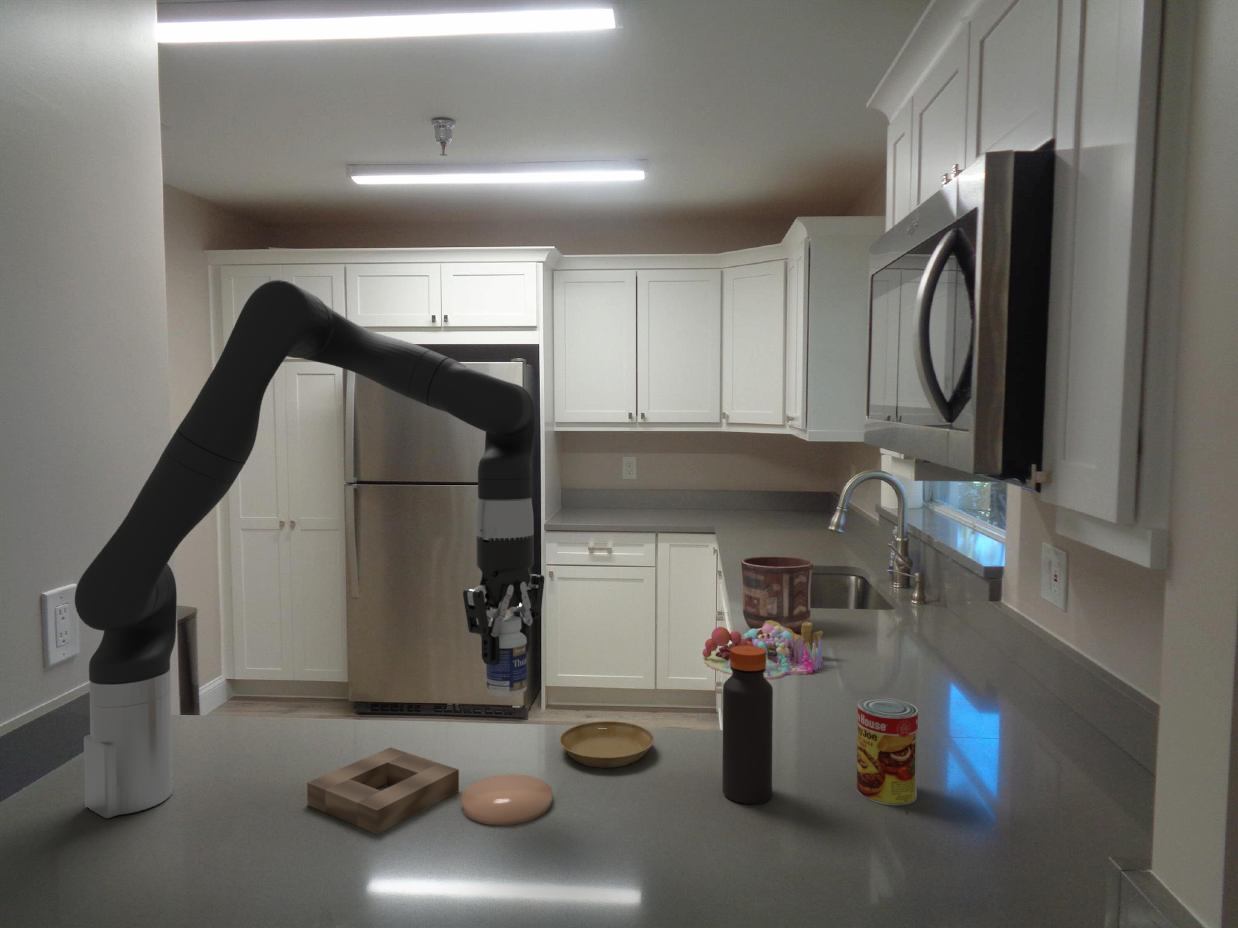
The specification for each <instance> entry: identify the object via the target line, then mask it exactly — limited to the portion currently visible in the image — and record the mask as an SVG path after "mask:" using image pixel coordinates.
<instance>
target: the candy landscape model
mask: <svg viewBox="0 0 1238 928" xmlns="http://www.w3.org/2000/svg"><path fill="white" fill-rule="evenodd" d="M812 628H813V623H812V622H804V623H803V624H802V628H801V632H800V633H801V634H795V633H794V632H793V631H792V630H791V629H789V628H786V627H784V626H782V625H780V624H779V623H778V622H775V621H772V620H768V621H765V623H764V625H763V627H762V628H759V629H750V628H749V630H748V631H747V632H745V633H744V634H743V638H742V633H740V632H739V631H738V630H733V631H731V632H730V631H729V630H728V629H727V628H726V627H724V626H718V627H716V628H714V629H713V631H711V635H710V636H711V638H708V639H707V640H705V643H704V647H705V648H704V649H703V650H702V656H703V657H702V659H703V662H704V665H706V667H707V668H710V669H712V670H715V671H719V672H720V673H723V674H727V675H730V676H732V670H731V669H730V667H731V666H730V649H731V648H733V647H736V646H756V647H760V648H763V649H764V650H765V651H766V671H765V672H764V678H765V679H766V680H776V679H780V678H782V677H784V676H786V675H787V676H788V675H791V676H792V675H795V676H798V675H807V674H812V673H813V672H814V671H815V673H816V672H817V671H821V669H822V667H823V666H824V659H823V653H822V651H823V650H822V643H823V642H822V637H823V634H824V633H823V630H820V631H815V632H813V633H811V632H812ZM729 642H731V643H729ZM718 647H719V648H718ZM717 648H718V651H716V650H717ZM712 652H713V653H712Z"/></svg>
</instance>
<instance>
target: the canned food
mask: <svg viewBox="0 0 1238 928" xmlns="http://www.w3.org/2000/svg"><path fill="white" fill-rule="evenodd" d="M918 722H919V710H918V707H916V706H915V705H914V704H912V703H910V702H907V701H904V700H902V699H896V698H893V697H892V698H891V697H884V696H883V697H879V696H875V697H866V698H863V699H860V700H859V701H858V702H857V731H856V732H857V737H856V738H857V743H856V744H857V745H856V747H857V750H856V751H857V753H856V763H857V764H856V790H857V793H858V794H859V795H860V796H862V797H863V798H865V799H866V800H868V801H870V802H873V803H877V804H881V805H885V806H894V807H895V806H906V805H910V804H913V803H914V802H915V801H916V800H917V799H918V797H917V796H918V791H917V790H918V737H919V735H918V734H919V733H918V731H919V730H918V728H919V727H918V726H919V723H918Z"/></svg>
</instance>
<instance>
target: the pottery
mask: <svg viewBox="0 0 1238 928" xmlns="http://www.w3.org/2000/svg"><path fill="white" fill-rule="evenodd" d="M740 562H741V574H742V575H741V576H742V591H743V592H742V613H743V617H744V619H743V620H744V621H745V623H746V625H747V627H748V628H749V630H750V629H759V628H762V627H763V625H764V623H765V621H768V620H772V621H775V622H778V623H779V624H780V625H782V626H784V627H786V628H789V629H791V630H792V631H793V632H794V633H795V634H797V635H800V633H801V628H802V624H803V623H804V622H809V621H810V618H811V585H812V575H813V568H814V562H813V561H811V560H808V559H805V558H801V557H800V558H799V557H792V556H777V555H774V556H773V555H772V556H770V555H769V556H768V555H767V556H766V555H765V556H754V557H747V558H745V559H742V560H741V561H740Z"/></svg>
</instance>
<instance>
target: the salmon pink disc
mask: <svg viewBox="0 0 1238 928" xmlns="http://www.w3.org/2000/svg"><path fill="white" fill-rule="evenodd" d="M552 804H553V790H552V788H551V786H550V785H549V783H547V781H544V780H543V779H541V778H538V777H535V776H531V775H525V774H516V773H515V774H501V775H494V776H489V777H486V778H483V779H480V780H478V781H476V782H474V783H472V784H470V785H469V786H468V787H466V789H465V790H464V791H463V793H462V794H461V811H462V813H463V814H464V815H465V816H466V817H467V818H468V819H470V820H472V821H474V822H476V823H481V824H485V825H490V826H491V825H492V826H509V825H517V824H522V823H526V822H530V821H533V820H535V819H537V818H539V817H541V816H543V815H544V814H545V813H547V811H549V810H550V808H551V806H552Z"/></svg>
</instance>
